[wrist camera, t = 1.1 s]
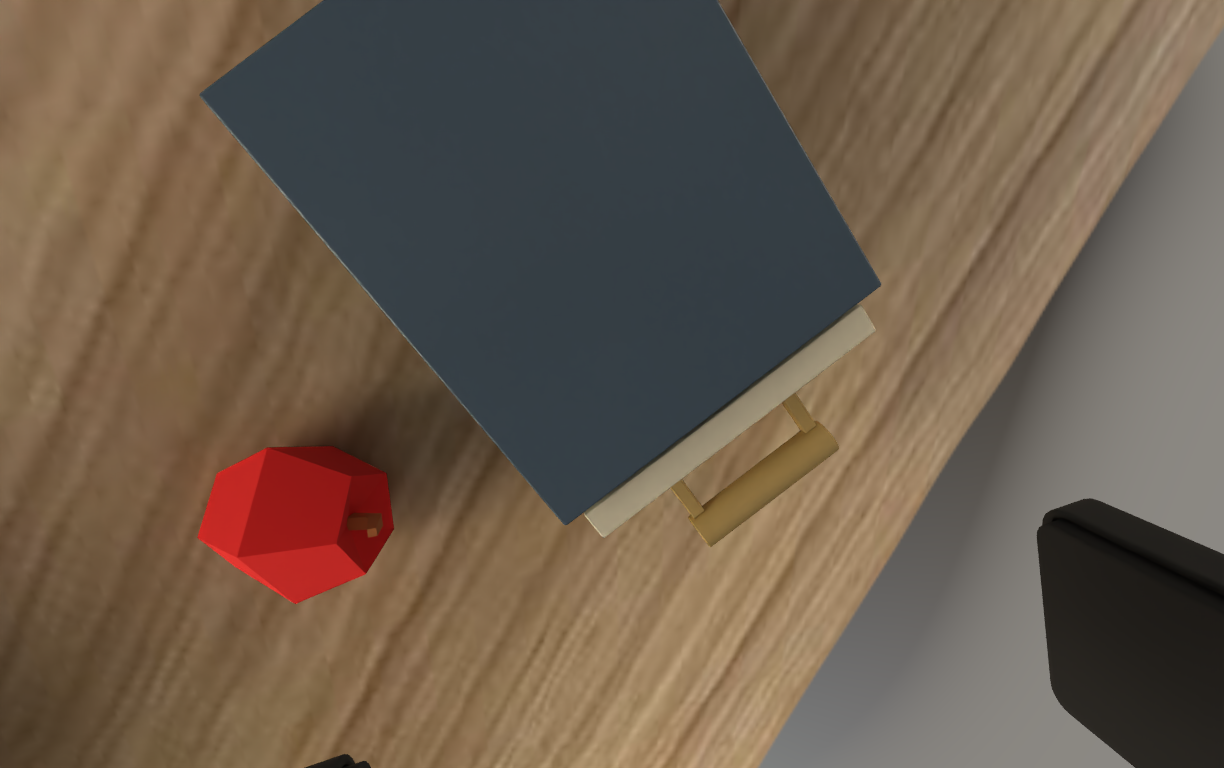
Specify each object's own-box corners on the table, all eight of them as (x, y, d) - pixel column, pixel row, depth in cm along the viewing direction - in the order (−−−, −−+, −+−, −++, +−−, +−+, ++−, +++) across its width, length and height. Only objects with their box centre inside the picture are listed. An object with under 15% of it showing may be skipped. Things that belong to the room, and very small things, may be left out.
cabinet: (769, 270, 32) (883, 285, 23) (544, 441, 32) (565, 527, 23) (562, -57, 27) (598, -210, 18) (298, 142, 27) (196, 94, 18)
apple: (154, 626, 25) (340, 643, 24) (149, 451, 25) (337, 455, 24) (278, 571, 32) (429, 581, 31) (275, 432, 32) (427, 435, 30)
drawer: (835, 386, 33) (937, 432, 25) (636, 538, 33) (679, 629, 25) (595, 8, 27) (634, -79, 20) (353, 191, 27) (299, 174, 20)
